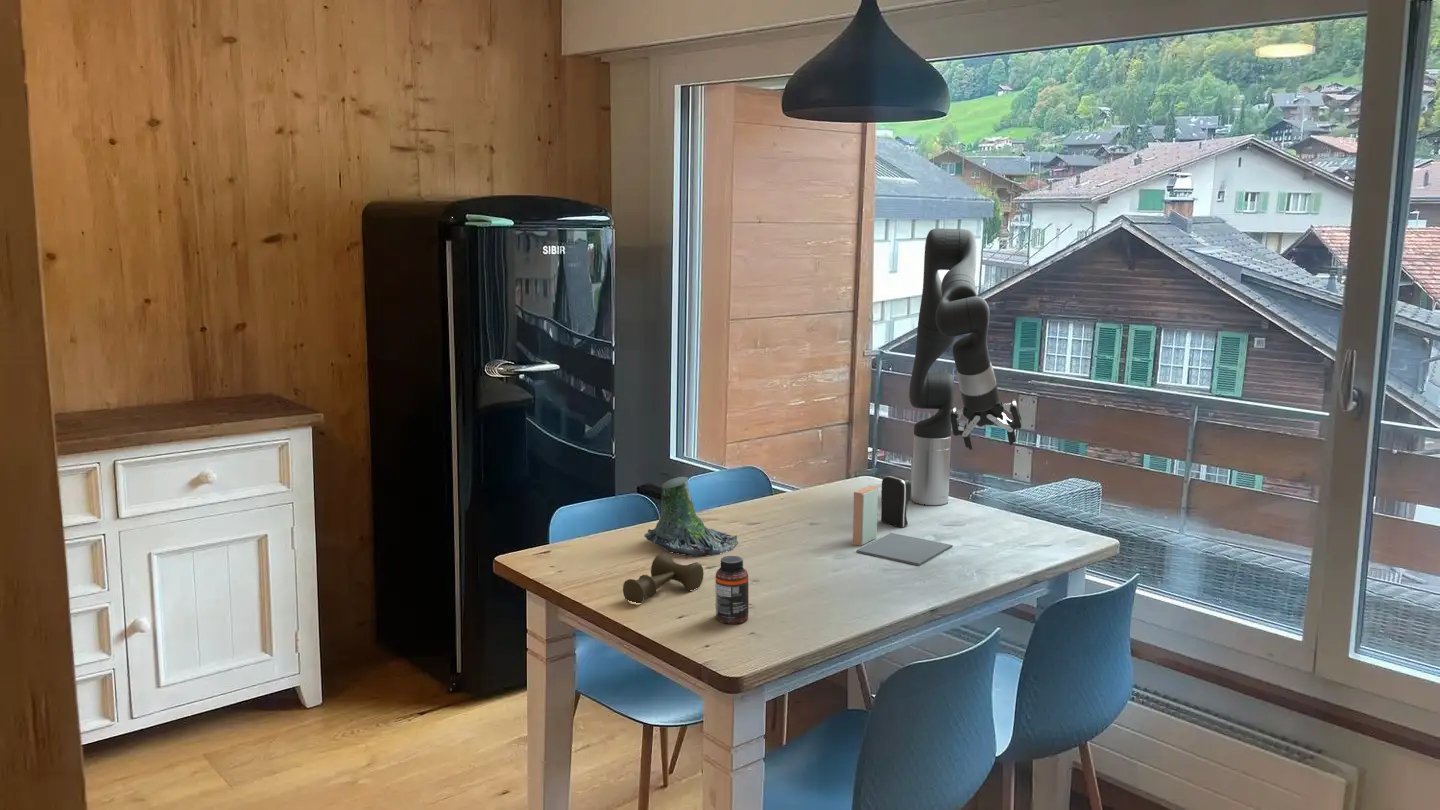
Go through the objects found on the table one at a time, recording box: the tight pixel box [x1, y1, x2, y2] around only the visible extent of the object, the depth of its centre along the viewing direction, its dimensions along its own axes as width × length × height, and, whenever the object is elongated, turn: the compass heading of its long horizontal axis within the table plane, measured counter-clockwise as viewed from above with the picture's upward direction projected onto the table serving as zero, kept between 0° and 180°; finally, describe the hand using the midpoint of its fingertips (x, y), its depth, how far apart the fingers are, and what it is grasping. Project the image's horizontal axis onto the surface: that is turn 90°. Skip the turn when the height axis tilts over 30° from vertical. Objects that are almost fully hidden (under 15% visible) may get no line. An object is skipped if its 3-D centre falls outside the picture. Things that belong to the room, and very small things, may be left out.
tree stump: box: [643, 476, 739, 557], centre depth 231 cm, size 18×20×18 cm
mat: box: [856, 532, 953, 567], centre depth 230 cm, size 15×16×1 cm
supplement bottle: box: [714, 555, 750, 625], centre depth 189 cm, size 6×6×11 cm
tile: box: [852, 485, 879, 547], centre depth 235 cm, size 2×7×12 cm, turn 143°
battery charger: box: [880, 475, 912, 528], centre depth 249 cm, size 7×4×11 cm, turn 38°
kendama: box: [622, 552, 705, 604], centre depth 204 cm, size 6×10×20 cm
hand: (991, 445), depth 227 cm, fingers open, 8 cm apart
